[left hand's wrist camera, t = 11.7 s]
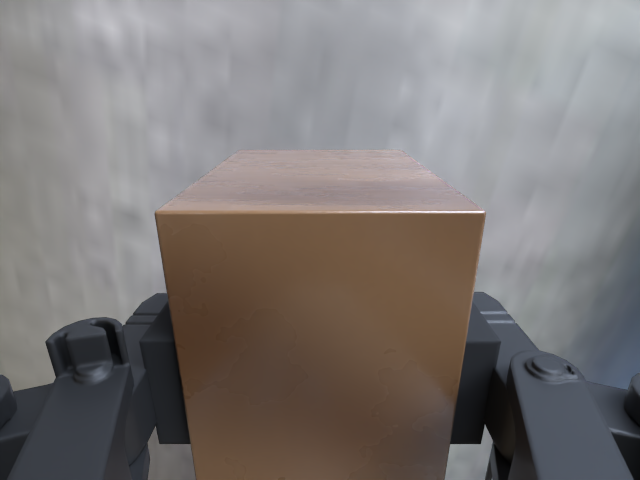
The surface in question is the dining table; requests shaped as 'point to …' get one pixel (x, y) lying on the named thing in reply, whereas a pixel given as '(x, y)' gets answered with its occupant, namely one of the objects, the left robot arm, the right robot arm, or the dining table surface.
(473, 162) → the dining table surface
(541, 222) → the dining table surface
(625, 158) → the dining table surface
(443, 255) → the beam
